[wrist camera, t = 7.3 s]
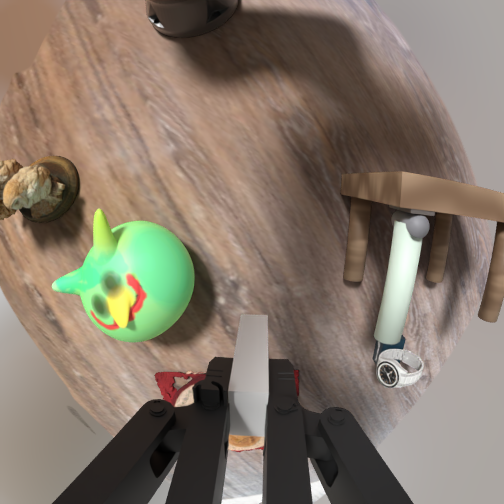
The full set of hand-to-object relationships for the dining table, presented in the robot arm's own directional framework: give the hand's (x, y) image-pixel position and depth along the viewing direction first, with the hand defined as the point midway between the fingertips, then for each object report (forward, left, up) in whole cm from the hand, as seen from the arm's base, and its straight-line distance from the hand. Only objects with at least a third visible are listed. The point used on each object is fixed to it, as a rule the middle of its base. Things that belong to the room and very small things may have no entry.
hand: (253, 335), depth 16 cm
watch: (+18, +23, -28) cm, 41 cm away
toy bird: (+5, -18, -28) cm, 33 cm away
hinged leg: (0, +14, -12) cm, 19 cm away
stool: (-3, +22, -28) cm, 35 cm away
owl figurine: (-8, -40, -28) cm, 49 cm away
